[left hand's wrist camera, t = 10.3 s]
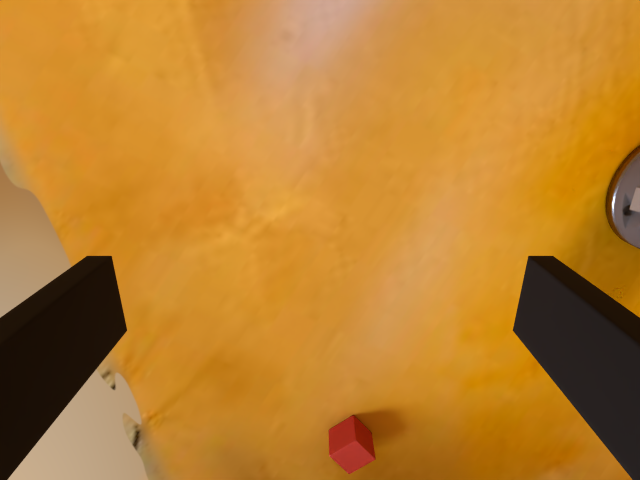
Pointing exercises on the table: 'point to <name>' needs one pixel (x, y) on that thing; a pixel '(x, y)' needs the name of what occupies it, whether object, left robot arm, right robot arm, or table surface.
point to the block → (351, 445)
